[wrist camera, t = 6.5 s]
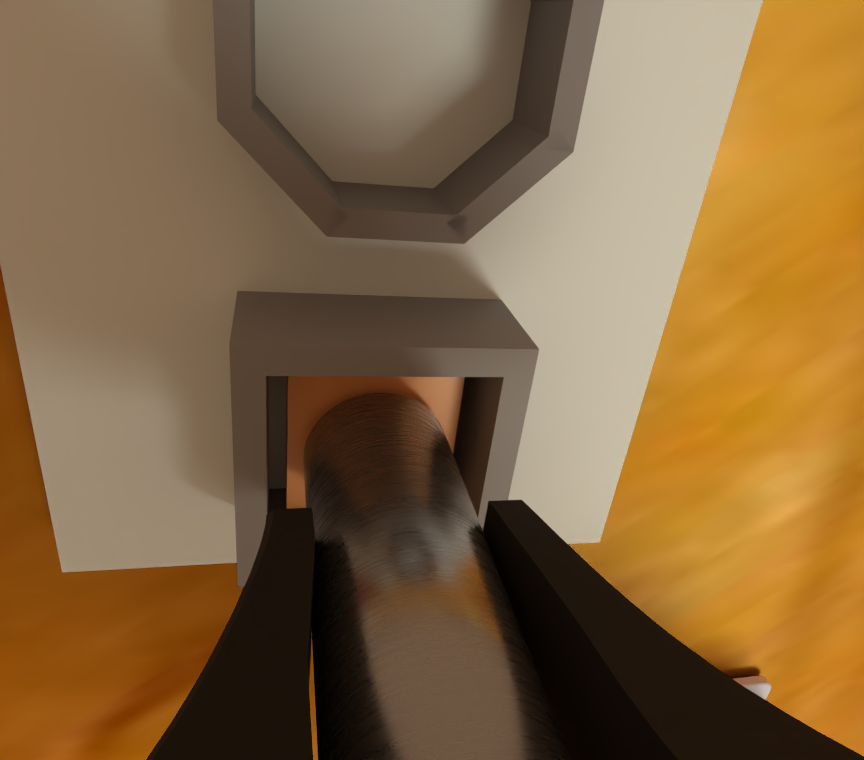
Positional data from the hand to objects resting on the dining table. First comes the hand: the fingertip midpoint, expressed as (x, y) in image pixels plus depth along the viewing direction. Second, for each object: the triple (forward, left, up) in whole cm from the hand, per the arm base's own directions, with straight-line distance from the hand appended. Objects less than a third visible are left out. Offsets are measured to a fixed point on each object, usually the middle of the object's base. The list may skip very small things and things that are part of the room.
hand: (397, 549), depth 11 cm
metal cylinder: (0, 0, -3) cm, 3 cm away
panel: (0, -4, -6) cm, 7 cm away
